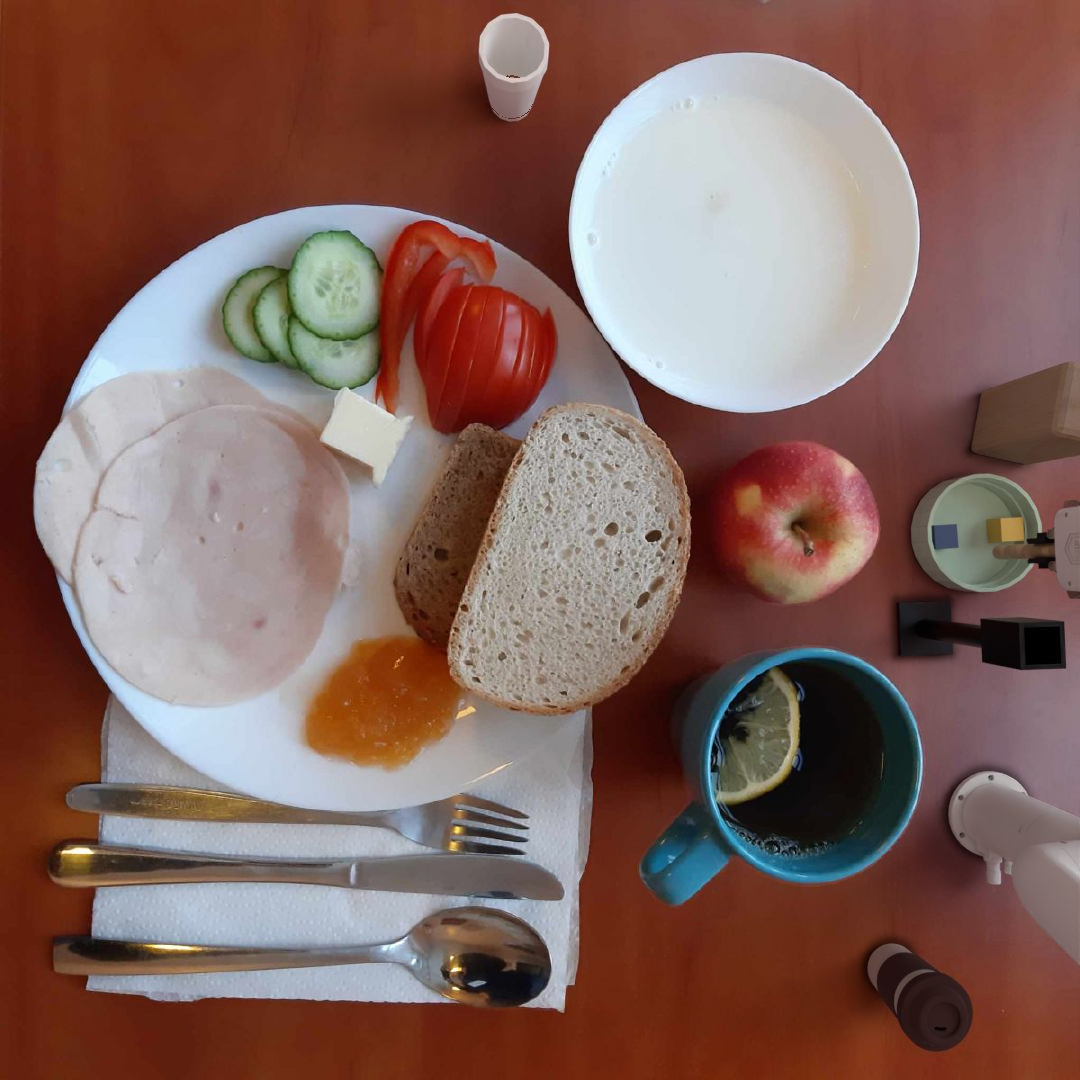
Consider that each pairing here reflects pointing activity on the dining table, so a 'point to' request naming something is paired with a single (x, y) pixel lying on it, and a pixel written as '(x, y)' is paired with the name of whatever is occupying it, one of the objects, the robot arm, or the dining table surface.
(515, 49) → the foam cup
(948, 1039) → the coffee cup
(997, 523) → the mustard block
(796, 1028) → the dining table surface
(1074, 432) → the wooden block
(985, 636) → the holder
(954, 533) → the navy block
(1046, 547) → the stick
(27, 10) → the dining table surface
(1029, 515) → the bowl
